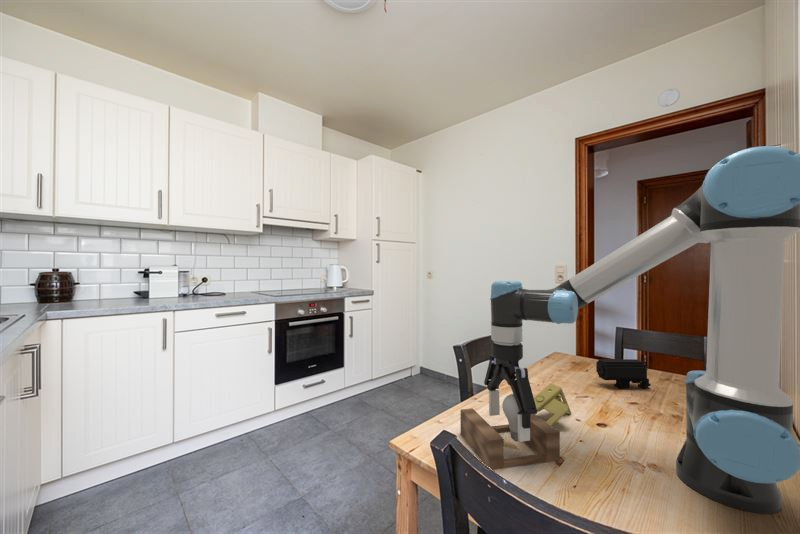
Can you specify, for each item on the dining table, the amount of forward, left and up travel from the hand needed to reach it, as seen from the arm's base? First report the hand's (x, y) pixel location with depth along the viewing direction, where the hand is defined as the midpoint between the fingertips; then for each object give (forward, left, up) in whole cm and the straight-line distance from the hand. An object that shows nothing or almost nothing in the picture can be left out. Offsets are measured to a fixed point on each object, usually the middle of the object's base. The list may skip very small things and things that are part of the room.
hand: (507, 426), depth 80 cm
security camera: (+29, -67, -6) cm, 73 cm away
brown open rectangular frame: (0, 0, -5) cm, 5 cm away
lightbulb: (-4, 0, -2) cm, 4 cm away
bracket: (+11, -23, -9) cm, 27 cm away
